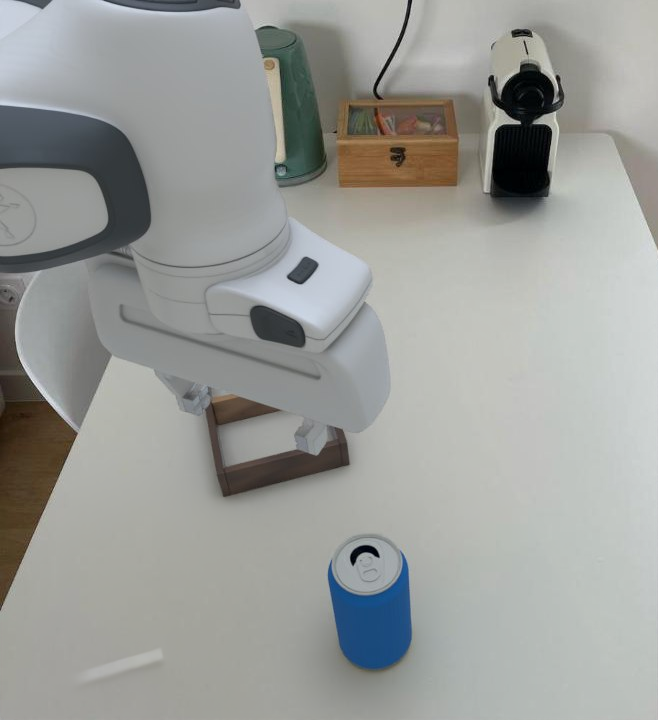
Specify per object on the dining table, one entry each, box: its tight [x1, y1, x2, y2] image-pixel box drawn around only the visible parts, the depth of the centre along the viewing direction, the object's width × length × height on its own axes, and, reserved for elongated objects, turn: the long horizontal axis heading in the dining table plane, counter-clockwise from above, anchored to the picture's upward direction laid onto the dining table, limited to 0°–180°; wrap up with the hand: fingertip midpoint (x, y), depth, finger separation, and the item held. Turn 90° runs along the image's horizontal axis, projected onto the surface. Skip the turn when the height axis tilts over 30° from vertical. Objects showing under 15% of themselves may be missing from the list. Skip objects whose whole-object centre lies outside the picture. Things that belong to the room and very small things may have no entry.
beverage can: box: [327, 532, 413, 670], centre depth 68 cm, size 6×6×12 cm
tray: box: [204, 387, 351, 497], centre depth 92 cm, size 14×22×4 cm, turn 17°
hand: (253, 426), depth 56 cm, fingers open, 8 cm apart
